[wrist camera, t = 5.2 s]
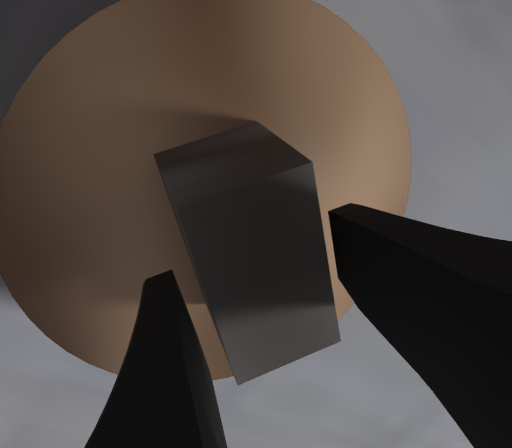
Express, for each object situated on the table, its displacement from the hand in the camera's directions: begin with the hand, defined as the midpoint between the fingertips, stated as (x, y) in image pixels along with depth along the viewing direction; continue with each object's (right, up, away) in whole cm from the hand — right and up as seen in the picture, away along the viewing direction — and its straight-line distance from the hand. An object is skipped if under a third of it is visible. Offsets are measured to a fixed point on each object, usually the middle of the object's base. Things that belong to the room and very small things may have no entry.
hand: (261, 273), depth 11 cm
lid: (-1, +2, +3) cm, 3 cm away
